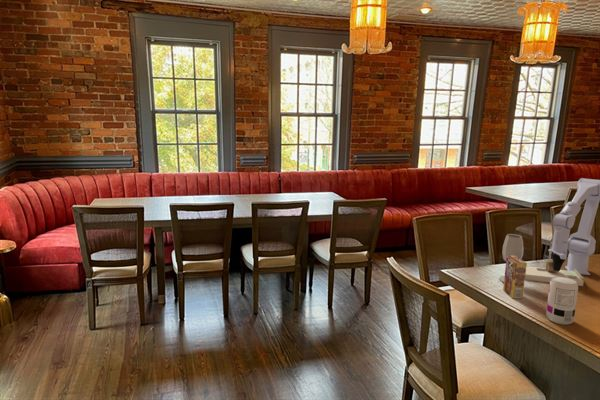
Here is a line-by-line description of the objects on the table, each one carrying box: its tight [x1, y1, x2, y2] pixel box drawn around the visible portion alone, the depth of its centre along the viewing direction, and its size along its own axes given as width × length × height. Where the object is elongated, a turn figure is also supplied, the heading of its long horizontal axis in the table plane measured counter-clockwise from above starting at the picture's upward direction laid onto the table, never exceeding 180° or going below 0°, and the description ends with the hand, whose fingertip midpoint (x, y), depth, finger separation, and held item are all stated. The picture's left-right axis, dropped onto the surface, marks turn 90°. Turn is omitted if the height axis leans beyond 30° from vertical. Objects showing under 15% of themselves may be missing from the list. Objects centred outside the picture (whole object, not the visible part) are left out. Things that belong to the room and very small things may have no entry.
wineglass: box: [498, 233, 525, 284], centre depth 173 cm, size 9×9×21 cm
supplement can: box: [545, 276, 579, 326], centre depth 138 cm, size 8×8×15 cm
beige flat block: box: [525, 266, 585, 287], centre depth 178 cm, size 12×23×4 cm, turn 70°
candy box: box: [502, 256, 528, 300], centre depth 160 cm, size 9×4×15 cm, turn 176°
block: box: [545, 261, 559, 272], centre depth 179 cm, size 4×4×4 cm
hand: (556, 270), depth 176 cm, fingers closed, pressing on block
